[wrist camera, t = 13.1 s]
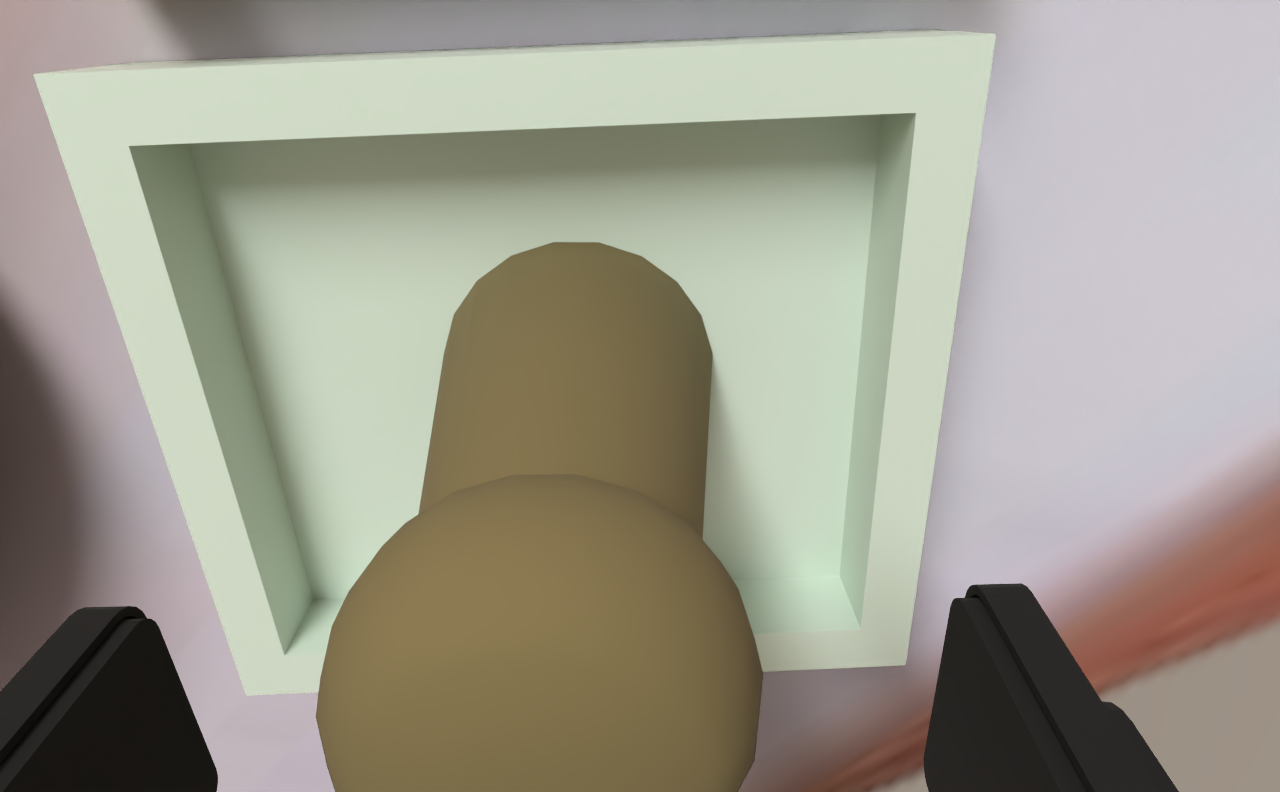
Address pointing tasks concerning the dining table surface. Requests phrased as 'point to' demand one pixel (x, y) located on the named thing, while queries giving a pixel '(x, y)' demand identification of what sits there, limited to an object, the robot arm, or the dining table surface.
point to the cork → (553, 558)
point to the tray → (513, 223)
